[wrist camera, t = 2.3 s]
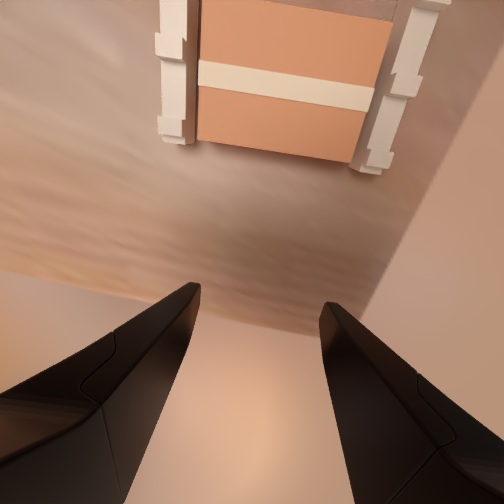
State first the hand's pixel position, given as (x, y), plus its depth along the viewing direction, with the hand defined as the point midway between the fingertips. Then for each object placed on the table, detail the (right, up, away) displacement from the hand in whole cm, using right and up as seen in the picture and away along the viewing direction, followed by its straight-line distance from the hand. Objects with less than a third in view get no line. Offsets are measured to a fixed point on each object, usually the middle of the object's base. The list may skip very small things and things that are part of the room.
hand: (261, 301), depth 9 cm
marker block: (+2, +13, +8) cm, 15 cm away
